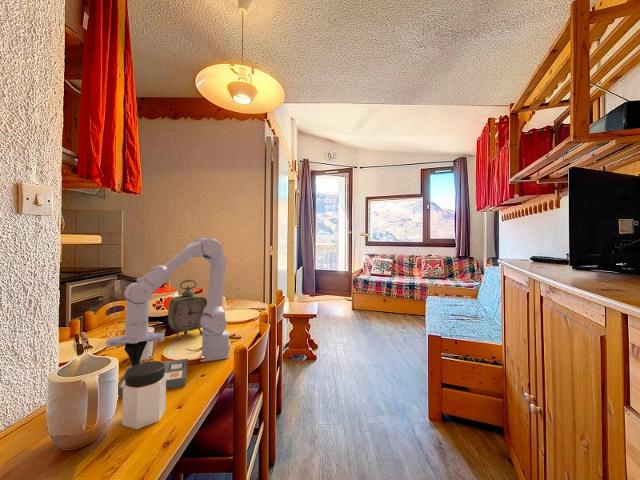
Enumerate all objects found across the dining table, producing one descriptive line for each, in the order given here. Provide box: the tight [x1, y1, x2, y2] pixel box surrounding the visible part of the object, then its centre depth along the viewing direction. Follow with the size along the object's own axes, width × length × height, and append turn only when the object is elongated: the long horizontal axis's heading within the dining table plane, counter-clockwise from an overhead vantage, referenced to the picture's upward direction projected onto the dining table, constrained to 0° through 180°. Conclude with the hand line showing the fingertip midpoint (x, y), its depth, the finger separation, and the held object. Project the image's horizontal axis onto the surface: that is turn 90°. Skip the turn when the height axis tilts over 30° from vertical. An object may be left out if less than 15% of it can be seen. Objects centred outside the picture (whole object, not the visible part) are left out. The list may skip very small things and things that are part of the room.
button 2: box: [170, 363, 183, 370], centre depth 87 cm, size 3×3×2 cm
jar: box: [121, 360, 167, 430], centre depth 66 cm, size 9×8×12 cm
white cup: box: [140, 326, 155, 362], centre depth 99 cm, size 8×8×10 cm
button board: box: [118, 358, 189, 398], centre depth 83 cm, size 17×14×3 cm
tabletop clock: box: [167, 279, 207, 341], centre depth 122 cm, size 14×9×25 cm, turn 134°
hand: (136, 366), depth 83 cm, fingers closed
